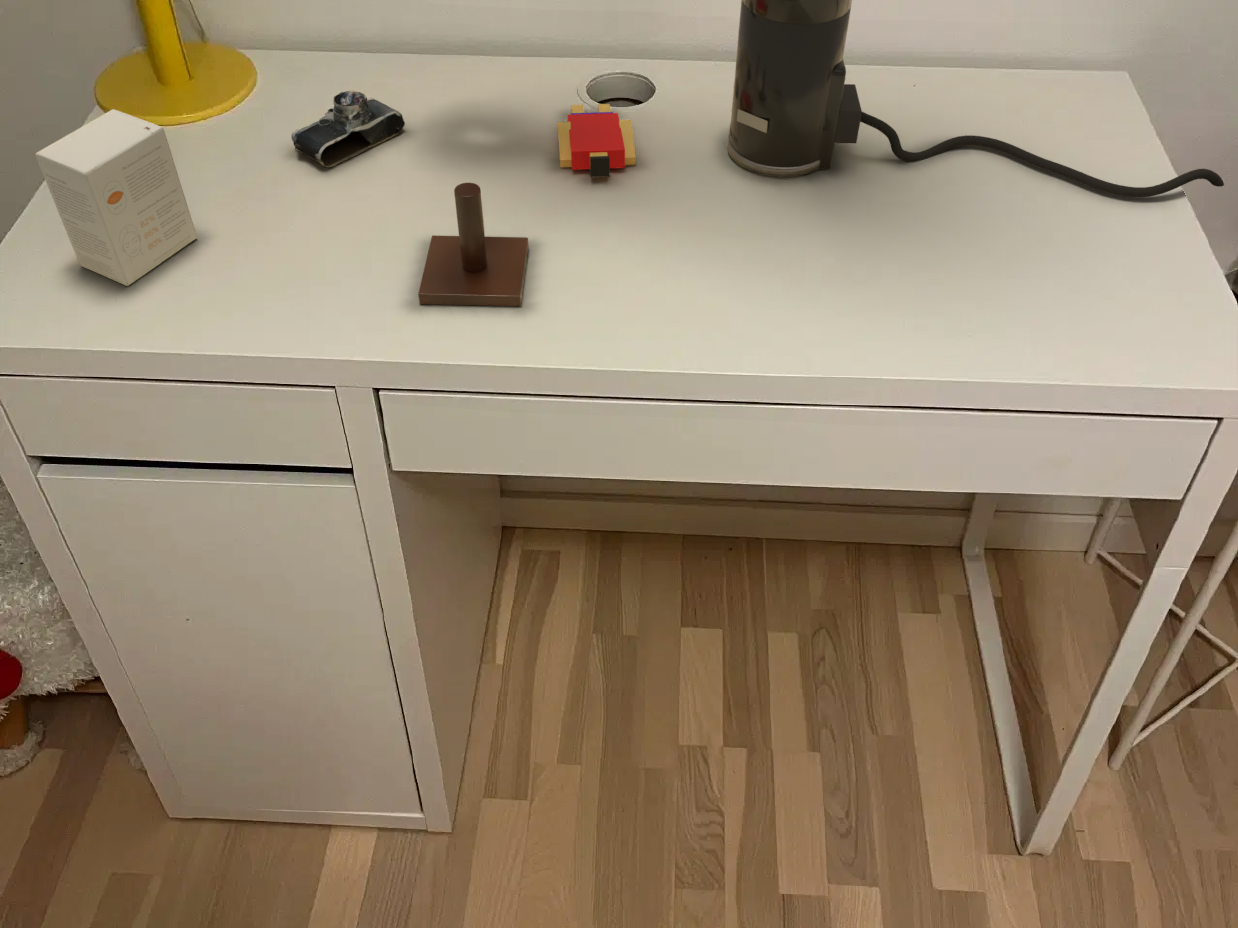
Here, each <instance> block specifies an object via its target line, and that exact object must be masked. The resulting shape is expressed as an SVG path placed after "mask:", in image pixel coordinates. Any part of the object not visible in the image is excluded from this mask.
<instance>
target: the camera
mask: <svg viewBox="0 0 1238 928" xmlns="http://www.w3.org/2000/svg"><path fill="white" fill-rule="evenodd" d="M332 102H333V108H329V109H327V111H325V113H324V115H323V116H322V117H320V118H319V119H318V120H317V121H314V122H313V123H311V124H309V125H307V126H304V127H302V128H300V129H299V128H297V129H295V130H294V131H293V132H292V133H291V136H290V137H291V141H292V142H293V146H294V149H295V150H296V151H299V152H300V153H302V154H304V155H305V156H307V157H309V158H311V160H314V161H315V162H317V163H319V164H320V165H321V166H323V167H325V168H334V167H336V166H338V165H339V164H341V163H343V162H345V161H347V160H349V159H351V158H353V157H356V156H358V155H360V154H361V153H363V152H364V151H366V150H368V149H370V148H372V147H374V146H377V145H379V144H381V143H383V142H385V141H387V140H389V139H391V138H393V137H395V136H397V135H398V134H400V133H402V131H403V129H404V127H405V125H406V122H405V119H404V117H403V114H402V113H401V112H400V111H399V110H396V109H394V108H393V107H391V106H388V105H387V104H385V103H383V102H381V101H379V100H378V99H375V98H373V97H368V98H367V95H366V94H365V93H363V92H361V91H357V90H347V91H341V92H339V93H337V94H336V95H334V96H333V100H332Z"/></svg>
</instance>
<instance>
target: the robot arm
mask: <svg viewBox="0 0 1238 928" xmlns="http://www.w3.org/2000/svg"><path fill="white" fill-rule="evenodd" d="M852 3H853V0H741V1H740V13H739V22H738V23H739V25H738V33H737V34H738V35H737V45H736V46H737V47H736V58H735V68H734V69H735V70H734V82H733V92H732V104H731V115H730V124H729V133H728V137H727V139H728V140H727V151H728V154H729V156H730V157H731V159H732V160H733V161H734V162H735V163H736V164H738V165H739V166H740V167H742V168H744V169H746V170H748V171H751V172H753V173H756V174H760V175H765V176H770V177H779V178H780V177H781V178H783V177H784V178H786V177H787V178H788V177H789V178H790V177H798V176H803V175H807V174H810V173H813V172H815V171H817V170H820V169H821V170H822V169H823V170H824V169H831V168H832V163H833V156H834V150H835V145H836V144H846V145H847V144H848V145H850V144H851V145H852V144H853V145H855V144H857V143H858V136H859V131H860V126H861V123H862V124H865V125H867V126H868V127H872V128H874V129H876V130H877V131H879V132H881V133H882V134H883V135H884V136H885V137H886V138H887V140H888V142H889V146H890V148H891V151H892V153H893V155H894V156H895V157H896V158H897V159H899V160H900V161H904V162H906V163H913V162H920V161H924V160H926V159H929V158H932V157H934V156H938V155H940V154H942V153H944V152H946V151H948V150H951V149H954V148H958V147H962V146H975V147H976V146H977V147H983V148H988V149H992V150H996V151H999V152H1002V153H1003V154H1006V155H1009V156H1011V157H1014V158H1015V159H1018V160H1020V161H1022V162H1024V163H1027V164H1030V165H1032V166H1034V167H1037V168H1039V169H1041V170H1044V171H1048V172H1050V173H1053V174H1057V175H1059V176H1061V177H1064V178H1067V179H1069V180H1072V181H1074V182H1077V183H1078V184H1080V185H1084V186H1086V187H1089V188H1091V189H1094V190H1097V191H1100V192H1103V193H1107V194H1110V195H1114V196H1120V197H1125V198H1136V199H1137V198H1142V199H1143V198H1150V197H1151V198H1152V197H1155V196H1160V195H1162V194H1166V193H1169V192H1171V191H1173V190H1175V189H1178V188H1180V187H1182V186H1184V185H1186V184H1188V183H1190V182H1193V181H1196V180H1205V181H1207V182H1209V183H1210V184H1211V185H1212V186H1215V187H1218V188H1219V187H1225V183H1224V180H1223V179H1222V177H1221V176H1220V175H1219V174H1218V173H1216V172H1215V171H1213V170H1211V169H1208V168H1196V169H1194V170H1193V169H1192V170H1190V171H1187V172H1184V173H1182V174H1180V175H1178V176H1176V177H1174V178H1172V179H1169V180H1167V181H1165V182H1162V183H1159V184H1156V185H1153V186H1151V185H1150V186H1146V187H1144V186H1143V187H1140V186H1139V187H1136V186H1127V185H1123V184H1122V185H1121V184H1118V183H1117V184H1116V183H1113V182H1109V181H1105V180H1103V179H1101V178H1098V177H1094V176H1092V175H1089V174H1087V173H1084V172H1081V171H1079V170H1076V169H1074V168H1072V167H1069V166H1067V165H1064V164H1061V163H1058V162H1054V161H1052V160H1049V159H1046V158H1043V157H1041V156H1039V155H1037V154H1034V153H1032V152H1030V151H1027V150H1025V149H1023V148H1020V147H1018V146H1015V145H1014V144H1012V143H1009V142H1005V141H1003V140H999V139H996V138H992V137H989V136H988V137H987V136H983V135H982V136H981V135H973V134H971V135H970V134H969V135H959V136H956V137H955V136H954V137H952V138H949V139H946V140H944V141H942V142H939V143H937V144H936V145H933V146H932V147H929V148H926V149H924V150H921V151H917V152H916V151H915V152H913V151H908V150H905V149H904V148H903V146H902V144H901V140H900V137H899V135H898V133H897V131H896V130H895V129H894V128H893V126H891V125H889V124H888V122H885V121H884V120H882V119H880V118H878V117H875V116H873V115H871V114H868V113H867V112H865V111H863V110H862V106H861V103H860V99H859V94H858V90H857V87H856V84H855V83H854V84H853V83H851V84H850V83H845V82H846V76H847V69H846V63H845V59H844V54H845V48H846V42H847V36H848V29H849V22H850V16H851V10H852Z"/></svg>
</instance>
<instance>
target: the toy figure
mask: <svg viewBox="0 0 1238 928" xmlns="http://www.w3.org/2000/svg"><path fill="white" fill-rule="evenodd" d="M570 108H571V109H570V114H567V115H566V118H567V121H557V136H558V137H557V138H558V149H559V150H558V152H559V164H560V165H559V167H560V168H571V170H572V171H574V170H575V171H577V170H589V172H590V173H589V175H590V178H605V177H608V178H609V177H610V176H611V171H610V170H611V169H624V168H626V166H636V161H637V155H636V147H635V138H634V130H633V121H632V119H620V116H619V112H613V111H612V107H611V104H610V103H598V104H597V111H596V112H585V108H584V104H570Z"/></svg>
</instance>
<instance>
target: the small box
mask: <svg viewBox="0 0 1238 928" xmlns="http://www.w3.org/2000/svg"><path fill="white" fill-rule="evenodd" d="M35 158H36V161H37V163H38V165H39V168H40V171H41V173H42V175H43V178H44V181H45V183H46V184H47V187H48V190H49V193H50V195H51V199H52V200H53V202H54V205H55V208H56V210H57V212H58V215H59V217H60V220H61V222H62V225H63V227H64V230H65V232H66V235H67V237H68V240H69V242H70V245H71V247H72V249H73V251H74V254H75V256H76V259H77V261H78V263H79V265H80V267H82V268H85V269H87V270H89V271H92V272H94V273H96V274H99V275H101V276H102V277H103V276H104V277H105V278H108V279H110V280H112V281H115V282H117V283H119V284H122V285H123V286H126V287H129V286H130V285H131V284H133V283H134V282H136V281H137V280H139V279H140V278H142V277H143V276H145V275H146V274H147V273H149V272H150V271H152V270H153V269H155V268H156V267H157V266H159V265H161V264H162V263H164V261H166V260H167V259H169V258H170V257H172V256H173V255H175V254H176V253H178V252H179V251H180V250H182V249H183V248H185V247H186V246H187V245H189V244H190V243H192V242H193V241H195V240H196V239H197V238H198V235H197V231H196V228H195V224H194V222H193V218H192V216H191V215H192V214H191V212H190V209H189V205H188V203H187V198H186V196H185V192H184V190H183V186H182V183H181V180H180V176H179V174H178V170H177V167H176V164H175V163H176V162H175V161H174V157H173V153H172V149H171V148H170V144H169V141H168V138H167V135H166V131H165V128H164V127H163V126H160V125H158V124H156V123H152V122H150V121H147V120H145V119H142V118H139V117H137V116H134V115H131V114H128V113H125V112H123V111H120V110H117V109H114V108H111V110H108V111H107V112H106V113H103V114H102V115H100V116H98V117H97V118H95V119H93V120H90V122H87V123H86V124H84V125H83V126H80V127H79V128H77V129H75V130H74V131H72V132H70V133H68V134H66V135H65V136H63V137H61V138H60V139H58V140H56V141H55V142H53V143H51V144H49V145H48V146H47V145H46V146H45V147H44V148H42V149H40V150H38V151H37V152H36V153H35Z"/></svg>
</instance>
